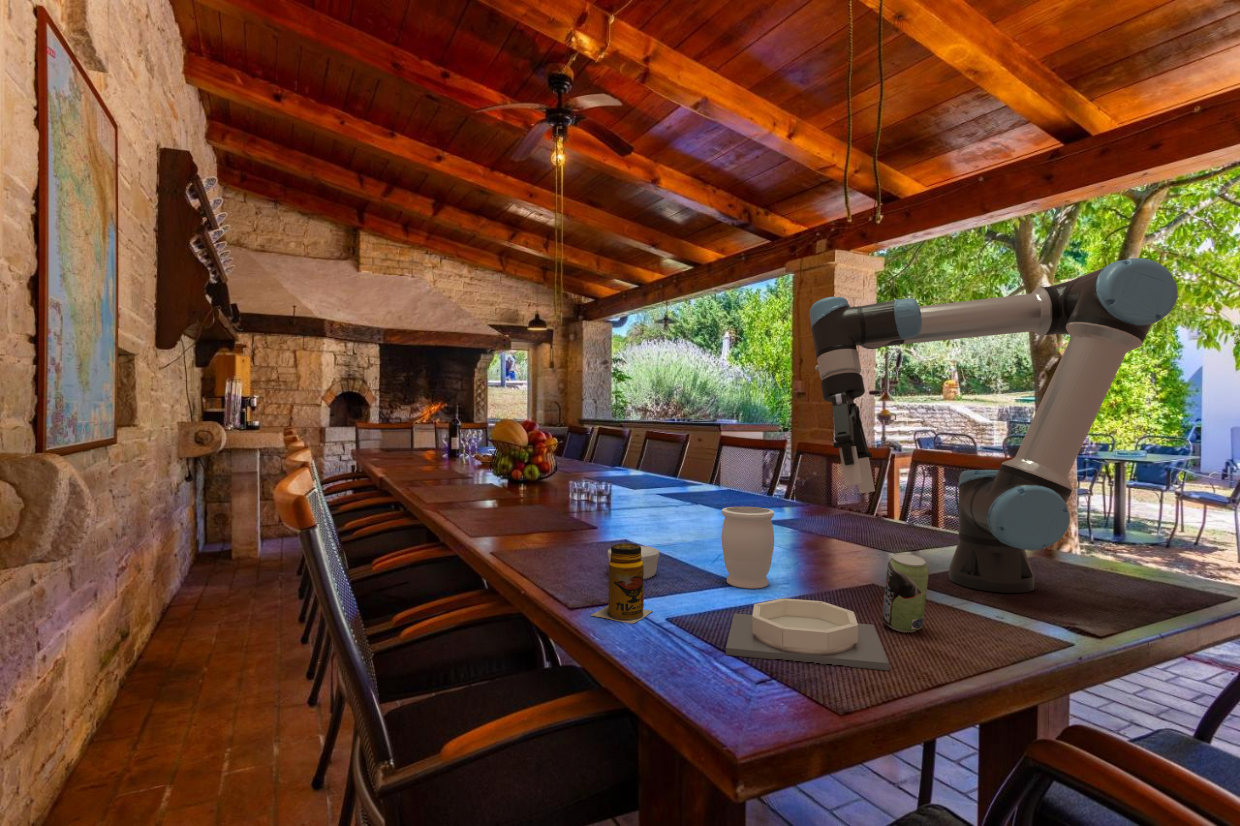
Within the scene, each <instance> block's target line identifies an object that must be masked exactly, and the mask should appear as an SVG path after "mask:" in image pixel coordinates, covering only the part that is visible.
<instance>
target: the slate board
mask: <svg viewBox="0 0 1240 826" xmlns="http://www.w3.org/2000/svg"><path fill="white" fill-rule="evenodd" d="M752 615H753V614H746V613H745V614H744V613H735V612H734V613H733V616H732V621H731V625H730V630H729V634H728V637H727V641H726V646H725V656H734V657H746V658H755V659H765V660H766V659H767V660H775V659H783V660H782V661H785V660H793V661H792V662H795V661H804V662H803V663H805V662H814V663H813V664H816V663H820V664H819V665H826V664H832V665H831V666H836V665H843V666H842V667H847V666H849V667H848V668H856V669H857V668H859V669H867V670H869V669H870V670H880V671H888V672H889V671H890V662H889V658H888V657H887V654H886V652H885V650H884V647H883V645H882V642H881V640H880V637H879V635H878V632H877V630H876V627H875V625H874V624H870V623H869V624H866V623H858V642H857V643H856V644H855V646H854V647H853V648H851V649H850V650H848V651H845V652H841V653H836V654H827V655H811V654H800V653H794V652H788V651H784V650H780V649H777V648H773V647H771V646H768V645H766V644H764V643H762V642H761V641H759V640H758V639H757V638H756V637H755V636H754V634H753V633H752ZM775 661H776V660H775Z"/></svg>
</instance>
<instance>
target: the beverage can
mask: <svg viewBox="0 0 1240 826" xmlns="http://www.w3.org/2000/svg"><path fill="white" fill-rule="evenodd" d="M926 562H927V561H926V559H924V558H922V557H921V556H919V555H916V554H910V553H904V552H903V553H902V552H899V553H894V554H893V555H892V557H891V558H890V560H889V561H888V562H887V565H886V566H887V567H886V578H885V579H886V580H885V586H884V587H885V588H884V597H883V604H882V605H883V607H882V614H881V615H882V616H881V618H882V621H883V622H884V624H886V625H887V626H888V627H889V628H890V629H892V630H895V631H897V632H902V633H907V632H908V633H909V632H910V633H914V632H916V631H919V630H921V629H922V628H923V625H924V624H923V623H924V615H925V608H926V599H927V591H928V581H929V574H930V572H929V567H928V565H927V564H926Z"/></svg>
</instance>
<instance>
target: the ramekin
mask: <svg viewBox="0 0 1240 826" xmlns="http://www.w3.org/2000/svg"><path fill="white" fill-rule="evenodd" d="M639 546H640V547H641V555H642V557H641V560H642V562H643V565H644V576H643V580H646V579H645V578H648V579H650V577H651V578H653V577H654V576H655V575H656V573H657V568H658V563H659V557H660V550H659V549H657V548H655V547H651V546H645V545H639ZM607 557H608V562H609V561H610V560H611V548H609V549H608V550H607ZM652 576H653V577H652Z"/></svg>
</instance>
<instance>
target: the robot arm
mask: <svg viewBox="0 0 1240 826" xmlns="http://www.w3.org/2000/svg"><path fill="white" fill-rule="evenodd" d="M1178 296H1179V294H1178V284H1177V282H1176V280H1175V279H1174V277H1173V275H1172V273H1171V272H1170V271H1169V270H1168V268H1166V267H1165V266H1164V265H1162V264H1161V263H1159V262H1157V261H1155V260H1152V259H1149V258H1143V257H1133V258H1127V259H1124V260H1122V259H1121V260H1116V261H1113V262H1111V263H1109V264H1108V265H1106V266H1105V267H1102V268H1100V269H1097V270H1095V271H1091V272H1089V273H1086V274H1083V275H1081V276H1079V277H1076V278H1073V279H1071V280H1069V281H1066V282H1062V283H1058V284H1054V285H1048V286H1041V287H1036V288H1035V289H1034V290H1033V291H1031V293H1025V294H1019V295H1018V294H1016V295H1008V296H1007V295H1006V296H1001V297H990V298H982V299H981V298H979V299H973V300H963V301H955V302H945V303H939V304H938V303H937V304H930V305H928V304H927V305H921V306H920V305H919V303H918V301H917V300H916V299H915V298H902V299H899V298H895V299H894V300H888V301H883V302H878V303H877V302H876V303H870V304H864V305H861V306H859V305H857V306H851V305H850V304H849V301H848V300H847V299H846V297H842V296H837V297H836V296H829V297H828V296H827V297H824V298H822V299H819V300H817V301H816V302H814V303H813V304H812V305H811V307H810V309H809V321H810V331H811V335H812V336H811V337H812V341H813V346H814V351H815V356H816V362H817V365H815V366H814V369H815V371H818V374H819V379H820V380H821V382H820V388H821V393H822V398H823V400H824V401H826V402H828V403H829V402H830V403H832V412H833V413H832V415H833V427H834V441H833V443H832V445H833V448H834V449H838V452H839V456H840V462H841V469H842V473H843V479H844V484H845V487H848V486H855V485H857V487H858V491H859V494H867V493H873V492H875V491H876V489H875V488H876V487H875V485H874V484H875V483H874V477H873V472H872V468H871V467H872V466H871V463H870V459H871V458H873V452H870V451H869V446H868V444H867V438H866V435H865V431H864V428H863V422H862V419H861V410H860V407H859V405H857V403H856V402H855V400H856V399H858V398H861V397H863V395H864V394H865V392H866V389H865V383H864V378H863V375H862V374H861V373H862V365H861V362H860V361H861V360H860V357H859V351H858V348H857V346H860V348H861V347H862V348H863V349H867V350H876V349H877V350H878V349H880V348H883V347H885V348H886V347H891V346H900V345H910V344H911V345H912V344H922V343H929V342H942V341H948V340H949V341H951V340H952V341H953V340H958V339H959V340H960V339H967V338H968V339H971V338H979V337H991V336H1000V335H1009V334H1010V335H1011V334H1020V333H1021V334H1022V333H1029V332H1033V333H1034V334H1035V335H1037V336H1039V337H1040V336H1041V337H1042V336H1051V335H1069V337H1070V339H1069V341H1068V344H1067V346H1066V347H1065V350H1064V352H1063V355H1062V356H1061V359H1060V361H1059V363H1058V364H1057V366H1056V369H1055V370H1054V373H1053V375H1052V377H1051V379H1050V382H1049V384H1048V386H1047V388H1046V390H1045V392H1044V395H1043V396H1042V399H1041V401H1040V403H1039V406H1038V407H1037V409H1036V412H1035V413H1034V416H1033V419H1032V420H1031V422H1030V424H1029V426H1028V429H1027V431H1026V433H1025V435H1024V437H1023V439H1022V442H1021V443H1020V446H1019V448H1018V450H1017V452H1016V454H1015V456H1014V457H1013V458H1011V459H1009V460H1005V461H1003V462H1002V463H1001V464H1000V465H999V469H971V470H970V469H968V470H963V471H961V472H960V474H959V476H958V478H959V479H958V480H959V481H958V485H957V488H958V542H957V545H956V548H955V551H954V553H953V557H952V559H951V561H950V563H949V566H948V580H950V582H953V583H954V584H957V585H959V586H962V587H966V588H970V589H975V590H979V591H987V592H992V593H1005V594H1019V593H1028V592H1032V591H1034V589H1035V575H1034V572H1033V570H1032V566H1031V564H1030V561H1029V558H1028V555H1027V552H1026V551H1037V550H1041V549H1046V548H1048V547H1051V546H1053V545H1055V544H1056V543H1058V541H1060V540H1061V539H1062V538H1063V537H1064V536H1065V534H1066V532H1067V531H1068V529H1069V526H1070V522H1071V521H1070V518H1071V515H1070V511H1069V507H1068V506H1067V503H1068V500H1069V498H1070V497H1071V494H1072V492H1073V486H1072V485H1071V482H1070V480H1069V474H1070V472H1071V471H1072V469H1073V466H1074V464H1075V462H1076V460H1077V458H1078V455H1079V453H1080V451H1081V449H1082V447H1083V444H1084V442H1085V440H1086V438H1087V436H1088V434H1089V432H1090V430H1091V428H1092V426H1093V424H1094V421H1095V419H1096V417H1097V415H1098V413H1099V411H1100V409H1101V407H1102V404H1103V403H1104V400H1105V398H1106V396H1107V394H1108V392H1109V390H1110V388H1111V386H1112V384H1113V381H1114V379H1115V378H1116V375H1117V373H1118V371H1119V370H1120V367H1121V364H1122V362H1123V361H1124V359H1125V356H1126V354H1127V353H1129V352H1131V351H1133V350H1136V349H1138V348H1140V347H1142V345H1143V343H1144V341H1145V339H1146V338H1147V336H1148V333H1149V331H1150V329H1151V326H1152V325H1153V324H1155V323H1158V322H1160V321H1161V320H1163V319H1164V318H1165V317H1166V316H1168V315H1169V314H1170V313H1171V312H1172V310H1173V309H1174V307H1175V305H1176V304H1177V300H1178Z"/></svg>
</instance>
